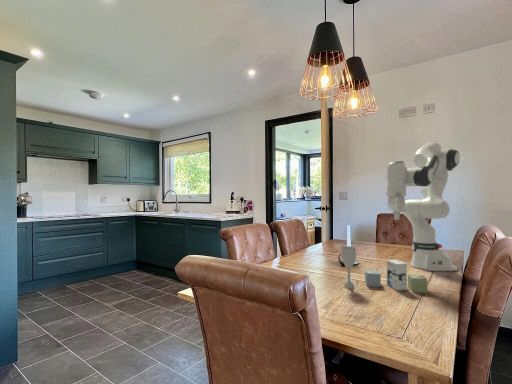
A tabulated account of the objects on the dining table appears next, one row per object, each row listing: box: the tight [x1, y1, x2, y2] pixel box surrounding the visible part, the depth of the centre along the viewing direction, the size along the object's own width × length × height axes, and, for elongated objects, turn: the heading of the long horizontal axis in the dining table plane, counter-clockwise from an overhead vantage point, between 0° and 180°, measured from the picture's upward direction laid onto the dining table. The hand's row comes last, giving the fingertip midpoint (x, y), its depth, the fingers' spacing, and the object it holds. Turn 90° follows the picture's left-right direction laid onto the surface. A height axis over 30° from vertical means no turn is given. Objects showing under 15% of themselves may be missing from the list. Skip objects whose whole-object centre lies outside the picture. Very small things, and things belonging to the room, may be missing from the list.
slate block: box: [364, 269, 382, 288], centre depth 135 cm, size 6×6×6 cm
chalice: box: [340, 246, 358, 290], centre depth 132 cm, size 7×7×18 cm
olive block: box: [407, 274, 428, 294], centre depth 127 cm, size 6×6×6 cm
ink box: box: [386, 259, 408, 291], centre depth 131 cm, size 8×5×12 cm, turn 5°
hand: (396, 219), depth 147 cm, fingers closed
